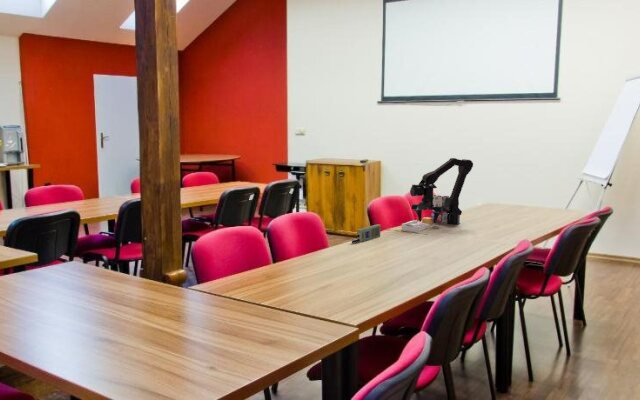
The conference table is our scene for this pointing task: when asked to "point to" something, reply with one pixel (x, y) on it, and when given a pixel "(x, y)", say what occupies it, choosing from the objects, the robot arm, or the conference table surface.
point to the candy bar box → (439, 201)
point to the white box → (414, 226)
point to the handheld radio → (367, 233)
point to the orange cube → (427, 220)
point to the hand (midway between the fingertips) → (427, 222)
